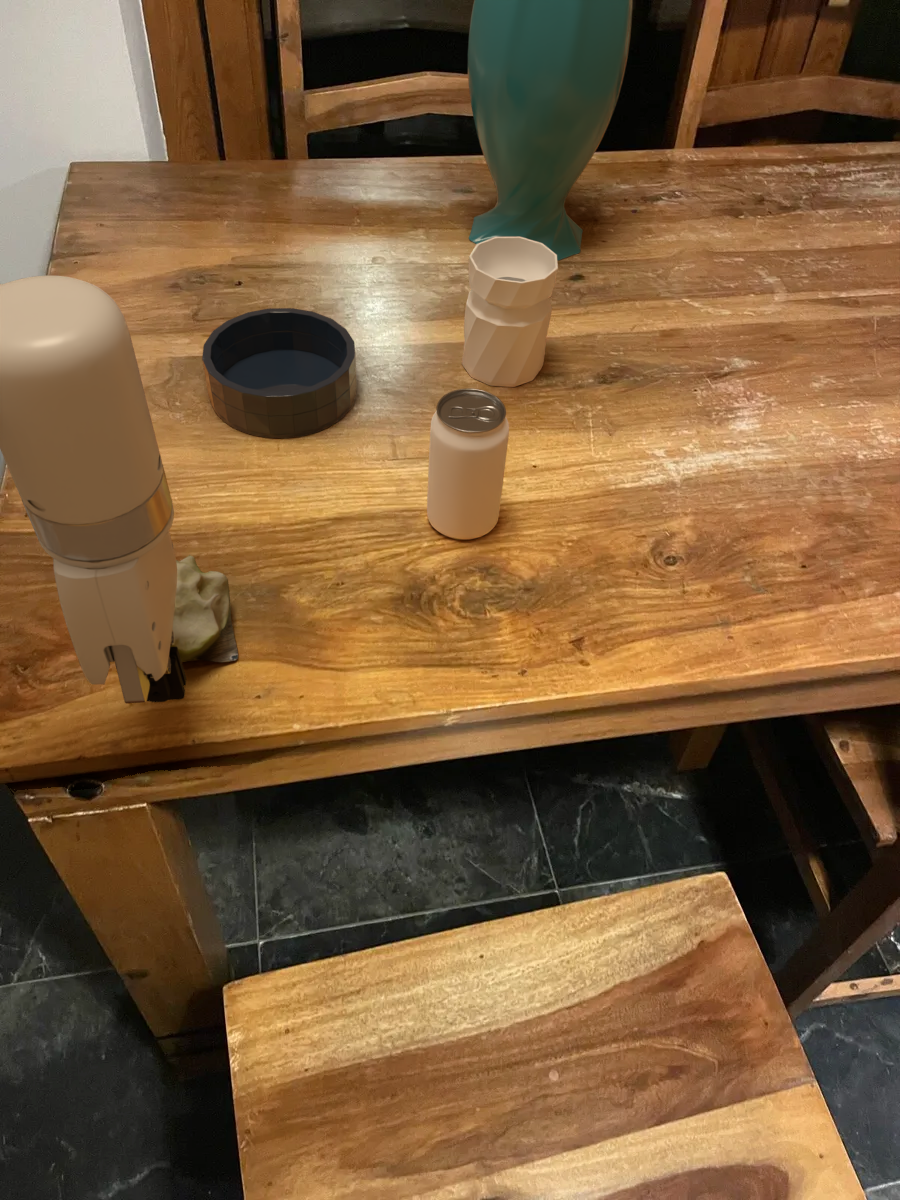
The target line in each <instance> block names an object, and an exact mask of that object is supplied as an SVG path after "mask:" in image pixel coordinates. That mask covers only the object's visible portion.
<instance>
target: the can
mask: <svg viewBox="0 0 900 1200" xmlns="http://www.w3.org/2000/svg"><path fill="white" fill-rule="evenodd" d="M431 417H432V418H431V421H430V428H429V431H430V432H429V448H428V450H429V451H428V467H427V469H428V470H427V471H428V472H427V493H426V494H427V495H426V516H427V520H428V522H429V524H430V525H431V526H432V528H434V529H435V530H436V531H437V532H438V533H440V534H441V535H442V536H445V537H447V538H449V539H453V540H459V541H467V540H468V541H470V540H475V539H478V538H481V537H483V536H485V535H487V534H489V533H490V532H491V531H492V530H493V529H494V528H495V527H496V525H497V523H498V522H499V516H500V509H501V501H502V494H503V488H504V487H503V485H504V478H505V471H506V470H505V469H506V462H507V453H508V445H509V444H508V443H509V437H510V423H509V420H508V418H507V408H506V406H505V404H504V403H503V401H502V399H500V398H499V397H498V396H496V395H495V394H493V393H491V392H489V391H487V390H483V389H479V388H459V389H455V390H451V391H450V392H447V393H445V394H444V395H443V396H442V397H441V398H440V399H439V400H438V402H437V404H436V409H435V412H434V413H433V415H432V416H431Z"/></svg>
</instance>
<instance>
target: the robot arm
mask: <svg viewBox="0 0 900 1200" xmlns="http://www.w3.org/2000/svg"><path fill="white" fill-rule="evenodd" d="M144 388H145V387H144V385H143V381H142V377H141V372H140V369H139V364H138V361H137V356H136V352H135V348H134V344H133V341H132V336H131V332H130V330H129V327H128V322H127V319H126V317H125V315H124V313H123V311H122V310H121V308H120V306H119V304H118V303H117V302H116V301H115V299H114V298H113V297H112V296H111V295H109V294H108V293H107V292H106V291H105V290H103V289H102V288H101V287H99V286H97V285H95V284H93V283H92V282H88V281H85V280H83V279H79V278H75V277H71V276H65V275H35V276H34V275H33V276H29V277H22V278H19V279H15V280H11V281H8V282H5V283H0V452H1V454H2V456H3V459H4V462H5V464H6V466H7V469H8V470H9V473H10V476H11V478H12V481H13V483H14V485H15V488H16V490H17V492H18V495H19V497H20V499H21V502H22V505H23V507H24V509H25V511H26V514H27V517H28V519H29V522H30V524H31V526H32V529H33V531H34V533H35V535H36V537H37V540H38V544H39V545H40V546H41V548H42V550H44V552H45V553H46V554H47V555H48V556H50V557H51V558H52V559H53V560H52V561H53V564H52V565H53V573H54V580H55V586H56V590H57V595H58V599H59V603H60V607H61V611H62V614H63V618H64V622H65V624H66V625H65V626H66V628H67V631H68V635H69V637H70V640H71V643H72V646H73V649H74V652H75V654H76V657H77V659H78V660H77V661H78V663H79V666H80V668H81V671H82V673H83V676H84V677H85V679H86V680H87V682H88V683H89V684H91V685H92V686H93V685H102V686H103V685H105V684H106V681H107V678H108V674H109V672H110V671H109V670H110V667H111V663H114V664H115V669H116V672H117V677H118V680H119V685H120V690H121V692H122V693H121V694H122V696H123V701H124V703H125V704H141V703H142V704H143V703H147V702H150V703H165V702H168V701H176V700H184V698H185V697H186V696H185V695H186V689H185V686H186V685H187V675H186V673H185V672H186V671H185V668H184V665H183V662H182V661H181V658H180V654H179V651H178V648H177V647H170V646H173V644H174V631H173V619H174V610H175V600H176V590H177V563H176V560H177V558H176V553H175V548H174V544H173V540H172V537H171V532H170V530H171V528H172V526H173V522H174V518H175V509H174V503H173V499H172V494H171V491H170V488H169V484H168V480H167V475H166V471H165V468H164V464H163V459H162V456H161V452H160V448H159V444H158V441H157V436H156V432H155V428H154V425H153V421H152V417H151V413H150V408H149V405H148V400H147V397H146V392H145V389H144Z"/></svg>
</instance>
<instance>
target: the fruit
mask: <svg viewBox="0 0 900 1200" xmlns="http://www.w3.org/2000/svg"><path fill="white" fill-rule="evenodd" d="M176 563H177V590H176V600H175V610H174V619H173V631H174V644H173V646H170V647H177V648H178V651H179V654H180V658H181V661H182V663H183V662H193V661H205V662H215V663H229V662H233V661H237V660H238V659H239V652H238V647H237V642H236V639H235V632H234V627H233V621H232V609H231V608H232V607H231V595H230V585H229V578H228V577H227V575H225V574H224V573H222V572H220V571H214V570H209V571H208V572H203V571H201V569H200V567H199V566H198V564H197V562H196V558H195V557H194V556H193V555H192V554H189V555H187V556H185V557H184V558H183V559H181V560H180V561H179V560H177V559H176Z"/></svg>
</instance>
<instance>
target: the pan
mask: <svg viewBox="0 0 900 1200" xmlns="http://www.w3.org/2000/svg"><path fill="white" fill-rule="evenodd" d="M355 345H356V344H355V341H354V339H353V337H352V336H351V334H350V333H349V331H348V329H347V328H345V327H344V326H343V325H341V324H340V323H339V322H337V321H336V320H334V319H333V318H331V317H329V316H325V315H323V314H321V313H318V312H315V311H314V310H313V311H312V310H307V309H299V308H294V307H292V308H291V307H284V308H283V307H279V308H278V307H274V308H271V307H270V308H262V309H257V310H253V311H248V312H245V313H242V314H240V315H238V316H235V317H232V318H230V319H227V320H226V321H225V322H222V323H221V324H220V325H219V326H218V327H216V328H215V329H213V330H212V332H211V333H210V335H208V337H207V339H206V340H205V342H204V343H203V347H202V356H201V357H202V358H201V361H202V366H203V371H204V377H205V383H206V389H207V393H208V398H209V401H210V405H211V407H212V409H213V412H215V414H216V415H217V416H218V418H219V419H220V420H222V421H223V422H224V423H225V424H227V425H228V426H229V427H231V428H233V429H235V430H237V431H239V432H242V433H244V434H247V435H250V436H255V437H259V438H260V437H261V438H265V439H266V438H267V439H292V438H298V437H299V438H300V437H306V436H309V435H313V434H316V433H318V432H322V431H324V430H326V429H328V428H331V427H332V426H333V425H335V424H337V423H338V422H340V420H342V419H344V417H345V416H346V415H347V414H348V413H349V411H351V409H352V407H353V405H354V403H355V401H356V396H357V366H356V365H357V364H356V347H355Z"/></svg>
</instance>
